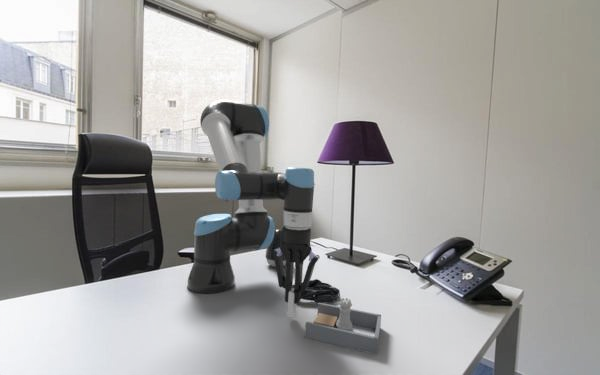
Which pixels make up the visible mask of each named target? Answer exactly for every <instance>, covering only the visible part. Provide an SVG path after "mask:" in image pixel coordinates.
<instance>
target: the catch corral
mask: <svg viewBox="0 0 600 375" xmlns="http://www.w3.org/2000/svg"><path fill="white" fill-rule="evenodd" d="M340 308H341V306H340V305H339V306H337V305H333V304H330V303H317V315H318V314H319V313H322V314H326V315H331V316H336V317H337V321H338V319H339V316H340ZM350 310H351V311H350V321H351V323H352V325H353V324H354V325H358V326H363V327H365V328H366V327H368V328H371V329H375V332H374V336H373V335H368V334H364V333H360V332H355V331H353V332H352V331H347V330H343V329H338V328H334V327H329V326H325V325H320V324H316V323H314V322H311V321H306V322H305V327H304V328H305V331H304V337H305V338H307V339H312V340H316V341H319V342H323V343H328V344H331V345H336V346H340V347H344V348H348V349H353V350H356V351H361V352H364V353H368V354H373V355H378V350H379V343H380V341H379V340H380V334H381V333H380V332H381V324H382V314H378V313H374V312H369V311H364V310H359V309H353V308H350Z"/></svg>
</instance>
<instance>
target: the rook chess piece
mask: <svg viewBox="0 0 600 375" xmlns="http://www.w3.org/2000/svg"><path fill="white" fill-rule="evenodd" d="M338 304H339V307H341V308H340V316H339V319H338V320H337V322H336V327H335V328H338V329H343V330H347V331H352V332H354V330H353V327H354V325H353V324H352V323H351V321H350V311H351V310H350V309H351V307H352V306H353V304H352V300H351V299H348V298H347V297H346V298H344V297H343V298H341V299H340V301H339V303H338Z"/></svg>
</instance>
